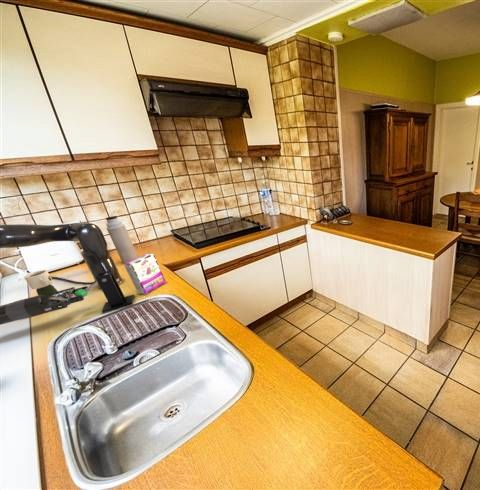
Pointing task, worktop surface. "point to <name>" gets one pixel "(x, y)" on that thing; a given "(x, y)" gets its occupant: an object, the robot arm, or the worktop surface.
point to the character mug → (41, 283)
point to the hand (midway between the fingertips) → (85, 292)
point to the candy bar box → (145, 273)
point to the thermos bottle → (121, 239)
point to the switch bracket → (112, 292)
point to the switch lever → (84, 291)
